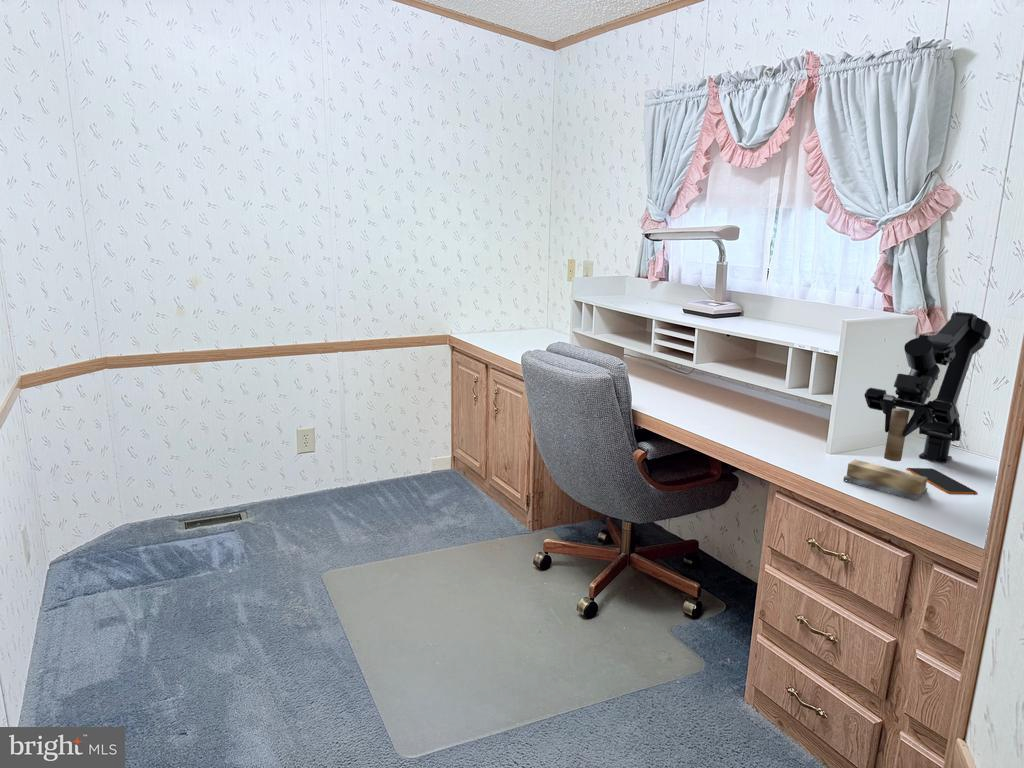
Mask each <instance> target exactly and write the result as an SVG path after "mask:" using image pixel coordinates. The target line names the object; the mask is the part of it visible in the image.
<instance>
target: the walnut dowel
mask: <svg viewBox="0 0 1024 768" xmlns="http://www.w3.org/2000/svg"><path fill="white" fill-rule="evenodd" d="M909 417H910V410H909V409H905V408H899V407H896V408H894V409H892V413H891V419H890V425H889V431H888V432H887V436H886V437H887V438H886V444H885V449H884V456H883V458H884V459H885V460H887V461H892V462H901V461H902V458H903V452H904V445H905V441H906V440H905V439H906V437H904V436H903V432H904V429H905V427H906V426H907V424H908V422H909Z"/></svg>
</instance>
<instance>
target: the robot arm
mask: <svg viewBox="0 0 1024 768" xmlns="http://www.w3.org/2000/svg"><path fill="white" fill-rule="evenodd" d="M991 327H992V326H991V325H990V324H989V322H988V321H987V320H984V319H982V318H980V317H978V316H977V315H976V314H974V313H970V312H964V311H963V312H962V311H956V312H952V314H951V316H950V319H949V320H948V321H947V322H946V323H944V325H943V326H942V327H941V328H940V330H938V332H937V333H936V334H932V335H926V334H919V335H918V337H915V338H912V339H910V340H908V341H907V342H905V344H904V349H903V350H904V353H905V356H906V361H907V364H908V365H907V366H908V367H909V368H910V369H911V370H910V371H909V373H908V374H905V373H897V375H896V377H895V380H894V383H893V387H894V388H896V389H895V392H894V393H895V395H896V396H895V395H892V394H887V390H886V389H882V388H876V387H869V388H867V389H866V391H865V393H864V395H863V396H864V398H865V402H866V404H867V405H866V406H867V407H868V408H869V409H871V410H877V411H882V413H883V414H884V415H885V418H884V419H885V420H884V432H885V433H888V431H889V425H890V419H891V413H892V409H894V408H899V409H905V410H909V411H910V410H912V411H913V413H912V416H911V417H910V419H909V420H908V423H907V426H906V427H905V429H904V432H903V436H904V437H905V438H906V437H907V436H909V435H910V434H912V432H914V431H916V430H917V429H919V431H918V433H919V435H924V436H925V435H926V437H925V443H924V448H923V452H921V453H920V454H919V455H918V457H919V458H921V459H926V460H929V461H930V460H931V461H935V462H939V463H943V464H947V463H948V462H949V461H951V459H952V458H953V456H950V455H949V453H950V447H951V444H952V442H960V441H961V437H962V427H961V421H960V413H959V410H958V406H957V403H958V400H959V397H960V394H961V390H962V388H963V385H964V381H965V379H966V376H967V373H968V370H969V367H970V364H971V362H972V359H973V355H974V354H976V353H977V352H979V351H980V350H981V349H982V348H984V346H985V343H986V341H987V340H988V339H989V338H990V336H991V331H992V328H991ZM939 365H941V366H947V367H946V371H945V373H944V376H943V379H942V382H941V385H940V388H939V391H938V394H937V397H936V398H935V399H933V400H928V398H930V397H931V391H932V389H933V387H934V384H935V383H936V381H938V380H939V374H940V371H941V369H940V366H939ZM927 400H928V402H927V403H926V401H927Z"/></svg>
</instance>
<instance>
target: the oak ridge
mask: <svg viewBox="0 0 1024 768" xmlns="http://www.w3.org/2000/svg"><path fill="white" fill-rule="evenodd" d="M843 480H847V481H850V482H853V483H852V484H854V483H856V484H855V485H858V484H860V485H859V486H861V485H863V486H862V487H865V486H867V487H866V488H869V487H870V488H869V489H872V488H874V489H873V490H876V489H878V490H877V491H879V490H882V491H881V492H883V491H885V492H884V493H887V492H889V493H888V494H890V493H893V494H892V495H894V494H896V495H895V496H898V495H899V497H901V496H903V497H902V498H905V497H906V498H905V499H909V500H912V501H913V500H914V501H918V500H919V499H920V498H921V497H922V496H924V495H925V494H926V493H927V492H928V487H927V483H928V482H927V477H923V476H919V475H915V474H913V473H911V472H908V471H907V472H906V471H902V470H898V469H894V468H890V467H887V466H882V465H879V464H874V463H870V462H867V461H863V460H859V459H854V460H852V461H850V462H848V465H847V470H846V475H844V476H843ZM843 480H842V481H843ZM847 481H846V482H847ZM850 482H849V483H850Z"/></svg>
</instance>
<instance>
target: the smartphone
mask: <svg viewBox="0 0 1024 768" xmlns="http://www.w3.org/2000/svg"><path fill="white" fill-rule="evenodd" d="M905 469H906V471H907V472H909V471H910V472H909V473H911V474H915V475H919V476H923V477H927V483H928V484H930V485H932V486H933V487H935V488H937V489H938V490H941V491H943V493H946V494H949V495H978V494H979V493H978V492H977V491H976V490H974V489H973V488H970V487H968V486H966V485H965V484H963V483H961V482H959V481H957V480H956V479H953V478H951V477H950V476H948V475H946V474H944V473H943V472H941V471H939V470H937V469H936V468H929V467H928V468H927V467H926V468H925V467H923V468H922V467H906V468H905Z"/></svg>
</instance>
